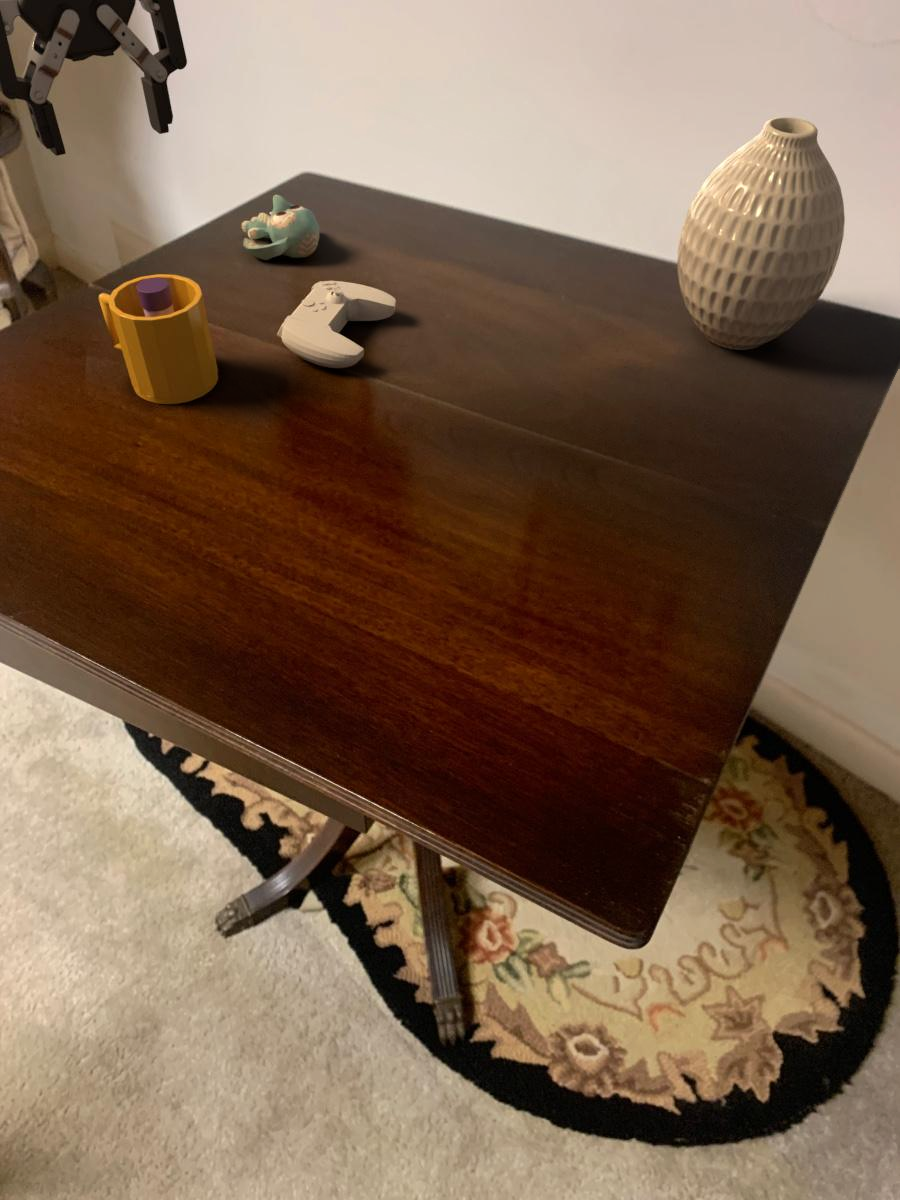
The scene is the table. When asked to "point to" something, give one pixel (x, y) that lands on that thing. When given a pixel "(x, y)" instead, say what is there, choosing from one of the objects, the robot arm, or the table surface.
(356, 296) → the game controller
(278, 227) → the green dragon head figurine
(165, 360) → the mug
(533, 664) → the table surface
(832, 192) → the vase
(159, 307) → the glue stick
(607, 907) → the table surface
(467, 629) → the table surface
